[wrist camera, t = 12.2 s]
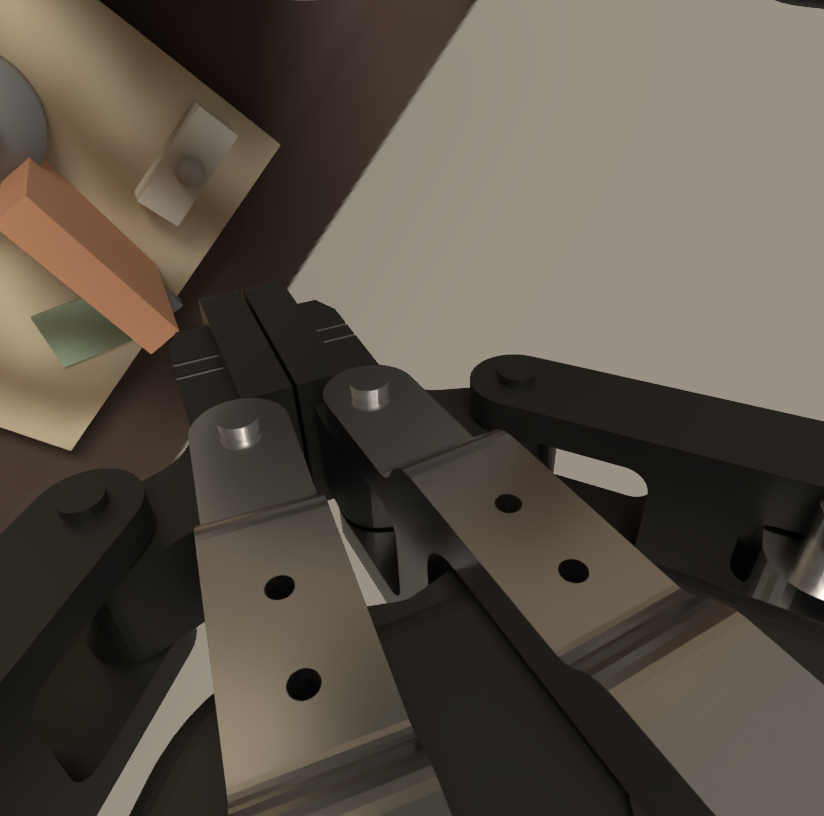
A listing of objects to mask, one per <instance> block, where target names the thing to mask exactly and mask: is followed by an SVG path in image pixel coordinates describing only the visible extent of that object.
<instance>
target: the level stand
mask: <svg viewBox="0 0 824 816" xmlns="http://www.w3.org/2000/svg"><path fill="white" fill-rule="evenodd" d="M0 55H1V56H3V57H4V58H5V59H7V60H8V61H9V62H11V63H12V64H13V65H14V66H16V67H17V68H18V69H19V70H20V71H21V72H22V73H23V74H24V75H25V77H26V78H27V79H28V80H29V81H30V83H31V84H32V86H33V87H34V88H35V90H36V92H37V94H38V96H39V97H40V100H41V102H42V105H43V107H44V111H45V114H46V120H47V146H46V153H45V156H44V159H45V160H46V161H47V162H48V163H49V164H50V165H52V166H53V167H54V168H55V169H56V170H57V171H58V172H59V173H60V174H61V175H62V176H63V177H64V178H65V179H66V180H67V181H68V182H70V183H71V184H72V185H73V186H74V187H75V188H76V189H77V190H78V191H79V192H80V193H81V194H82V195H83V196H84V197H85V198H86V199H88V200H89V201H90V202H91V203H92V204H93V205H94V206H95V207H96V208H97V209H98V210H99V211H100V212H101V213H102V214H103V215H105V216H106V217H107V218H108V219H109V220H110V221H111V222H112V223H113V224H114V225H115V226H116V227H117V228H118V229H119V230H120V231H121V232H123V233H124V234H125V235H126V236H127V237H128V238H129V239H130V240H131V241H132V242H133V243H134V244H135V245H136V246H137V247H138V248H139V249H141V250H142V251H143V252H144V253H145V254H146V255H147V256H148V257H149V258H150V259H151V260H152V261H153V262H154V263H155V264H156V265H157V267H158V270H159V273H160V276H161V279H162V282H163V283H164V284H165V285H166V286H167V287H168V288H169V289H170V290H171V291H172V292H173V293H174V294H176V295H177V296H178V294H179V293H180V291H181V290H182V288H183V287H184V285H185V284H186V283H187V281H188V280H189V278H190V277H191V275H192V274H193V272H194V271H195V269H196V268H197V266H198V265H199V264H200V262H201V261H202V259H203V258H204V256H205V255H206V253H207V252H208V250H209V249H210V247H211V246H212V245H213V243H214V242H215V240H216V239H217V237H218V236H219V234H220V233H221V231H222V230H223V229H224V227H225V226H226V224H227V223H228V221H229V220H230V218H231V217H232V215H233V214H234V212H235V211H236V210H237V208H238V207H239V205H240V204H241V202H242V201H243V199H244V198H245V196H246V195H247V194H248V192H249V191H250V189H251V188H252V186H253V185H254V183H255V182H256V180H257V179H258V177H259V176H260V175H261V173H262V172H263V170H264V169H265V167H266V166H267V164H268V163H269V161H270V160H271V158H272V157H273V156H274V154H275V153H276V151H277V150H278V148H279V147H280V144H279V143H278V142H276V141H275V140H274V139H273V138H272V137H270V136H269V135H268V134H267V133H265V132H264V131H263V130H262V129H260V128H259V127H258V126H257V125H255V124H254V123H253V122H252V121H250V120H249V119H248V118H247V117H245V116H244V115H243V114H242V113H240V112H239V111H238V110H237V109H235V108H234V107H233V106H232V105H230V104H229V103H228V102H226V101H225V100H224V99H223V98H221V97H220V96H219V95H218V94H216V93H215V92H214V91H213V90H211V89H210V88H209V87H208V86H206V85H205V84H204V83H203V82H201V81H200V80H199V79H198V78H196V77H195V76H194V75H193V74H191V73H190V72H189V71H188V70H186V69H185V68H184V67H183V66H181V65H180V64H179V63H177V62H176V61H175V60H174V59H172V58H171V57H170V56H169V55H167V54H166V53H165V52H164V51H162V50H161V49H160V48H159V47H157V46H156V45H155V44H154V43H152V42H151V41H150V40H149V39H147V38H146V37H145V36H144V35H142V34H141V33H140V32H139V31H137V30H136V29H135V28H134V27H132V26H131V25H130V24H128V23H127V22H126V21H125V20H123V19H122V18H121V17H120V16H118V15H117V14H116V13H115V12H113V11H112V10H111V9H110V8H108V7H107V6H106V5H105V4H103V3H102V2H101V1H100V0H0ZM141 348H142V347H141V346H140V345H139V344H138V343H137V342H135V341H134V340H133V339H132V338H130V337H129V336H128V335H127V334H126V333H124V332H123V331H122V330H121V329H119V328H118V327H117V326H116V325H115V324H113V323H112V322H111V321H110V320H108V319H107V318H106V317H105V316H103V315H102V314H101V313H100V312H99V311H97V310H96V309H95V308H94V307H92V306H91V305H90V304H89V303H88V302H86V301H85V300H84V299H83V298H81V297H80V296H79V295H78V294H77V293H75V292H74V291H73V290H72V289H70V288H69V287H68V286H67V285H65V284H64V283H63V282H62V281H61V280H59V279H58V278H57V277H56V276H54V275H53V274H52V273H51V272H50V271H48V270H47V269H46V268H45V267H43V266H42V265H41V264H40V263H39V262H37V261H36V260H35V259H34V258H32V257H31V256H30V255H29V254H27V253H26V252H25V251H24V250H23V249H21V248H20V247H19V246H18V245H16V244H15V243H14V242H13V241H12V240H10V239H9V238H8V237H7V236H5V235H4V234H3V233H2V232H1V231H0V427H1V428H4V429H7V430H10V431H13V432H16V433H19V434H22V435H25V436H28V437H31V438H34V439H37V440H40V441H43V442H46V443H49V444H52V445H55V446H58V447H61V448H64V449H67V450H70V451H71V450H72V449H73V447H74V446H75V444H76V443H77V442H78V440H79V439H80V437H81V436H82V434H83V433H84V431H85V430H86V428H87V427H88V426H89V424H90V423H91V421H92V420H93V418H94V417H95V415H96V414H97V412H98V411H99V409H100V408H101V407H102V405H103V404H104V402H105V401H106V399H107V398H108V396H109V395H110V393H111V392H112V390H113V389H114V388H115V386H116V385H117V383H118V382H119V380H120V379H121V377H122V376H123V374H124V373H125V372H126V370H127V369H128V367H129V366H130V364H131V363H132V361H133V360H134V358H135V357H136V355H137V354H138V353H139V351H140V350H141Z"/></svg>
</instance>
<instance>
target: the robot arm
mask: <svg viewBox="0 0 824 816" xmlns="http://www.w3.org/2000/svg"><path fill="white" fill-rule="evenodd" d="M776 1H779V2H781V3H786V4H790V5H796V6H804V7H812V8H821V9H824V0H776ZM198 302H199V307H200V312H201V316H202V319H203V323H204V326H200V327H196V328H192V329H187V330H183V331H179V332H176V333H175V335H174V337H173V339H172V341H171V343H170V345H169V347H168V352H169V355H170V358H171V362H172V365H173V369H174V372H175V375H176V379H177V382H178V386H179V389H180V393H181V396H182V399H183V403H184V406H185V410H186V413H187V416H188V420H189V423H190V430H189V433H188V440H189V445H188V447H187V448H186V450H185V451H184V452H183V454H182V455H181V456H180V457H179V458H178V459H177V460H176V461H175V462H174V463H172V464H171V465H170V466H168V467H167V468H165V469H164V470H162V471H160V472H159V473H157V474H155V475H153V476H151V477H149V478H147V479H145V480H144V481H142V482H141V481H140V479H139V478H138V477H137V476H135V475H134V474H132V473H130V472H127V471H124V470H120V469H110V468H109V469H96V470H90V471H86V472H82V473H79V474H76V475H73V476H70V477H68V478H66V479H64V480H62V481H60V482H58V483H56V484H55V485H53V486H51V487H50V488H48V489H47V490H46V491H44V492H43V493H42V494H41V495H39V496H38V497H37V498H36V499H35V500H34V501H33V502H32V503H31V504H30V505H29V506H28V507H27V508H26V509H25V510H24V511H23V512H22V513H21V514H20V515H19V516H18V517H17V518H16V519H15V520H14V521H13V522H12V523H11V524H10V525H9V526H8V527H7V528H6V529H5V530H4V531H3V532H2V533H1V534H0V816H97V814H98V812H99V811H100V809H101V807H102V805H103V804H104V802H105V800H106V799H107V797H108V795H109V793H110V792H111V790H112V788H113V786H114V784H115V783H116V781H117V779H118V778H119V776H120V774H121V773H122V771H123V769H124V767H125V765H126V764H127V762H128V760H129V758H130V757H131V755H132V753H133V752H134V750H135V748H136V746H137V745H138V743H139V741H140V739H141V738H142V736H143V734H144V732H145V731H146V729H147V727H148V725H149V724H150V722H151V720H152V718H153V717H154V715H155V713H156V712H157V710H158V708H159V706H160V705H161V703H162V701H163V699H164V698H165V696H166V694H167V692H168V691H169V689H170V687H171V685H172V684H173V682H174V680H175V678H176V677H177V675H178V673H179V671H180V670H181V668H182V666H183V665H184V663H185V661H186V659H187V658H188V656H189V654H190V652H191V650H192V648H193V646H194V644H195V640H196V633H197V629H196V627H198V626H199V625H200V624H202V623H203V622H205V624H206V632H207V640H208V648H209V656H210V664H211V672H212V680H213V688H214V694H212V695H211V696H210V697H209V698H208V699H207V700H206V701H205V702H204V703H203V704H202V705H201V706H200V707H199V708H198V709H197V710H196V711H195V712H194V713H193V714H192V715H191V716H190V717H189V718H188V719H187V721H186V722H185V723H184V724H183V726H182V727H181V728H180V729H179V731H178V732H177V733H176V734H175V735H174V737H173V738H172V740H171V741H170V743H169V744H168V746H167V747H166V749H165V750H164V752H163V753H162V755H161V756H160V758H159V760H158V761H157V763H156V764H155V766H154V768H153V770H152V772H151V774H150V775H149V777H148V779H147V781H146V783H145V785H144V787H143V789H142V791H141V793H140V795H139V797H138V799H137V801H136V803H135V805H134V807H133V809H132V811H131V813H130V815H129V816H824V421H819V420H815V419H810V418H806V417H801V416H797V415H792V414H788V413H783V412H779V411H774V410H770V409H765V408H761V407H756V406H752V405H748V404H743V403H738V402H734V401H729V400H725V399H721V398H716V397H712V396H707V395H703V394H698V393H693V392H689V391H684V390H680V389H676V388H671V387H667V386H662V385H658V384H653V383H649V382H644V381H640V380H635V379H631V378H626V377H622V376H617V375H613V374H608V373H604V372H599V371H595V370H590V369H586V368H581V367H577V366H572V365H568V364H563V363H559V362H554V361H550V360H545V359H541V358H536V357H532V356H526V355H501V356H496V357H493V358H490V359H487V360H485V361H483V362H481V363H480V364H478V365H477V366H476V367H475V368H474V369H473V371H472V372H471V376H470V388H460V389H447V390H424V389H423V388H422V387H421V386H420V385H419V384H418V383H417V382H416V381H415V380H414V379H413V378H412V377H411V376H410V375H409V374H407V373H406V372H404V371H402V370H400V369H397V368H395V367H390V366H385V365H379V364H378V363H377V362H376V360H375V359H374V358H373V357H372V355H371V354H370V353H369V352H368V350H367V349H366V348H365V347H364V345H363V344H362V343H361V341H360V340H359V339H358V338H357V336H356V335H355V336H354V333H353V332H352V330H351V329H350V328H349V327H348V325H346V324H345V321H344V320H343V319H342V317H341V316H340V315H339V314H338V313H337V311H336V310H335V309H334V308H331V307H329V306H327V305H325V304H323V303H321V302H318V301H316V300H313V301H308V302H304V303H300V304H297V303H296V301H295V300H294V298H293V297H292V296H291V294H290V293H289V291H288V290H287V288H286V287H285V286H284V284H283V283H282V282H281V281H278V282H274V283H269V284H264V285H260V286H255V287H251V288H246V289H242V290H241V293H240V291H239V290H237V291H233V292H228V293H223V294H219V295H214V296H210V297H205V298H200V299H198ZM556 448H557V449H561V450H565V451H568V452H572V453H575V454H579V455H583V456H586V457H590V458H594V459H598V460H601V461H605V462H608V463H612V464H615V465H619V466H623V467H626V468H629V469H631V470H633V471H635V472H636V473H638V474H639V475H640V476H641V477H642V478H643V479H644V481H645V483H646V485H647V488H648V494H647V495H645V496H641V497H632V496H627V495H624V494H620V493H617V492H614V491H610V490H607V489H604V488H600V487H596V486H593V485H590V484H586V483H583V482H579V481H576V480H572V479H569V478H566V477H563V476H559V475H555V474H553V471H554V463H555V454H556ZM333 498H334V499H335V500H336V502H337V504H338V506H339V510H340V516H341V523H342V529H343V533H344V535H345V537H346V539H347V540H348V542H349V543H350V545H351V547H352V548H353V550H354V551H355V553H356V554H357V556H358V558H359V559H360V561H361V562H362V564H363V565H364V567H365V569H366V570H367V572H368V574H369V575H370V577H371V578H372V580H373V581H374V583H375V585H376V586H377V588H378V589H379V591H380V593H381V594H382V595H383V597H384V599H385V601H386V602H387V603H386V604H380V605H374V606H366V603H365V601H364V598H363V595H362V593H361V590H360V587H359V585H358V582H357V579H356V577H355V574H354V572H353V569H352V566H351V563H350V561H349V558H348V555H347V553H346V550H345V547H344V544H343V542H342V539H341V537H340V534H339V531H338V528H337V526H336V523H335V520H334V518H333V515H332V513H331V510H330V507H329V504H328V502H327V501H328V500H331V499H333Z"/></svg>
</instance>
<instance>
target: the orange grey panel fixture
mask: <svg viewBox="0 0 824 816" xmlns="http://www.w3.org/2000/svg"><path fill="white" fill-rule="evenodd" d="M46 146H47V120H46V114H45V111H44V107H43V105H42V102H41V100H40V97H39V96H38V94H37V92H36V90H35V88H34V87H33V86H32V84H31V83H30V81H29V80H28V79H27V78H26V77H25V75H24V74H23V73H22V72H21V71H20V70H19V69H18V68H17V67H16V66H14V65H13V64H12V63H11V62H9V61H8V60H7V59H5V58H4V57H3V56H1V55H0V231H1V232H2V233H3V234H4V235H5V236H7V237H8V238H9V239H10V240H12V241H13V242H14V243H15V244H16V245H18V246H19V247H20V248H21V249H23V250H24V251H25V252H26V253H27V254H29V255H30V256H31V257H32V258H34V259H35V260H36V261H37V262H39V263H40V264H41V265H42V266H43V267H45V268H46V269H47V270H48V271H50V272H51V273H52V274H53V275H54V276H56V277H57V278H58V279H59V280H61V281H62V282H63V283H64V284H65V285H67V286H68V287H69V288H70V289H72V290H73V291H74V292H75V293H77V294H78V295H79V296H80V297H81V298H83V299H84V300H85V301H86V302H88V303H89V304H90V305H91V306H92V307H94V308H95V309H96V310H97V311H99V312H100V313H101V314H102V315H103V316H105V317H106V318H107V319H108V320H110V321H111V322H112V323H113V324H115V325H116V326H117V327H118V328H119V329H121V330H122V331H123V332H124V333H126V334H127V335H128V336H129V337H130V338H132V339H133V340H134V341H135V342H137V343H138V344H139V345H140V346H141V347H143V348H144V349H145V350H146V351H148V352H149V353H150V354H152V353H154V352H155V351H156V350H157V349H158V348H159V347H161V346H162V345H163V344H164V343H165V342H167V341H168V340H169V339H170V338H171V337H172V336H174V335H175V333H176V332H178V331H179V329H178V326H177V323H176V320H175V317H174V314H173V313H175V312H176V311H177V310H178V309H179V308H180V307H182V306H183V305H182V302H181V299H180V298H179V297H178V296H177V295H176V294H174V293H173V292H172V291H171V290H170V289H169V288H168V287H167V286H166V285H165V284H164V283H163V282H162V279H161V276H160V273H159V270H158V267H157V265H156V264H155V263H154V262H153V261H152V260H151V259H150V258H149V257H148V256H147V255H146V254H145V253H144V252H143V251H142V250H141V249H139V248H138V247H137V246H136V245H135V244H134V243H133V242H132V241H131V240H130V239H129V238H128V237H127V236H126V235H125V234H124V233H123V232H121V231H120V230H119V229H118V228H117V227H116V226H115V225H114V224H113V223H112V222H111V221H110V220H109V219H108V218H107V217H106V216H105V215H103V214H102V213H101V212H100V211H99V210H98V209H97V208H96V207H95V206H94V205H93V204H92V203H91V202H90V201H89V200H88V199H86V198H85V197H84V196H83V195H82V194H81V193H80V192H79V191H78V190H77V189H76V188H75V187H74V186H73V185H72V184H71V183H70V182H68V181H67V180H66V179H65V178H64V177H63V176H62V175H61V174H60V173H59V172H58V171H57V170H56V169H55V168H54V167H53V166H52V165H50V164H49V163H48V162H47V161H46V160H45V159H44V156H45V153H46Z"/></svg>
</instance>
